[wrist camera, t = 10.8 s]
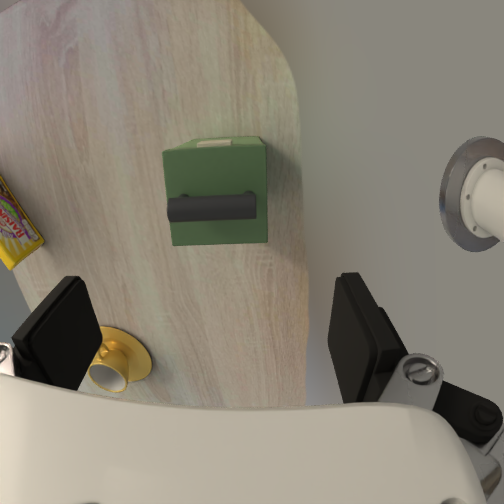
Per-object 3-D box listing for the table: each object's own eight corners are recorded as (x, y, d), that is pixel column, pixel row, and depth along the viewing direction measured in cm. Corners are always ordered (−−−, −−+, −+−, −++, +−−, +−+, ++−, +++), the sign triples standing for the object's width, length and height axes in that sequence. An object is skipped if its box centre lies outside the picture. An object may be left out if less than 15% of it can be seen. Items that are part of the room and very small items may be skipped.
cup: (162, 379, 46) (156, 404, 41) (102, 378, 46) (93, 401, 42) (136, 322, 41) (125, 347, 36) (72, 326, 41) (58, 348, 37)
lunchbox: (259, 132, 31) (269, 145, 17) (260, 200, 34) (270, 263, 20) (191, 136, 31) (146, 152, 17) (196, 202, 34) (161, 266, 20)
